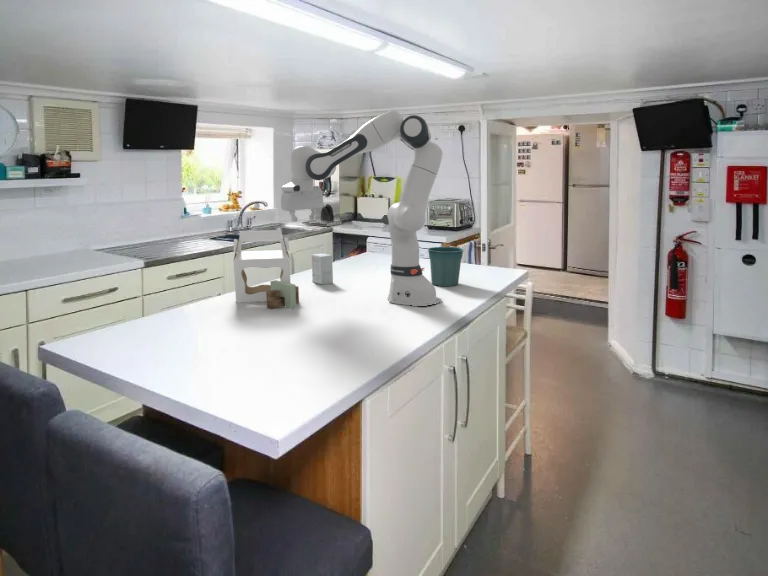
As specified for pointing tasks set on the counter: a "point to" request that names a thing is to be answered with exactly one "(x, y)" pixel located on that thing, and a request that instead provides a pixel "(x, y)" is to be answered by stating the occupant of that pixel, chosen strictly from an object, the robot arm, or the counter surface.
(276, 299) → the upright
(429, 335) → the counter surface
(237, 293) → the gable box
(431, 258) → the flower pot
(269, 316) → the counter surface
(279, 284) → the crosspiece
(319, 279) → the small box
